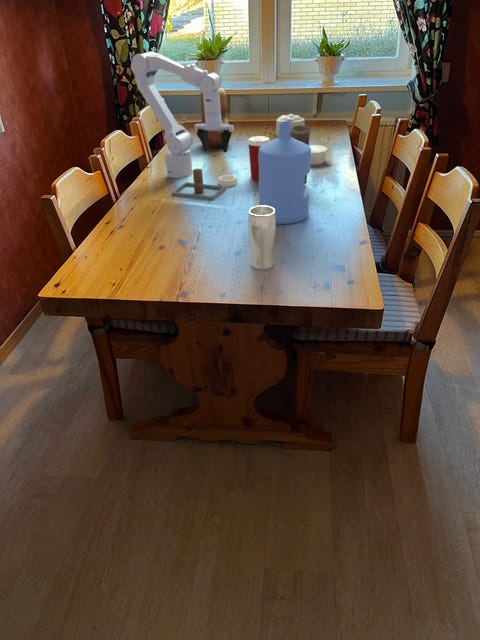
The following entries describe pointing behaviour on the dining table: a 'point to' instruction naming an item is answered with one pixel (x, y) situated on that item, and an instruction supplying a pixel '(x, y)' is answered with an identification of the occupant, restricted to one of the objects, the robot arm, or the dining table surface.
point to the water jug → (284, 176)
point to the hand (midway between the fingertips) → (216, 151)
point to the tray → (177, 193)
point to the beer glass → (262, 236)
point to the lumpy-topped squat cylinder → (291, 118)
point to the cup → (227, 180)
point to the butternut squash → (215, 136)
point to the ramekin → (318, 154)
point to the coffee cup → (255, 154)
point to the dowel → (198, 181)
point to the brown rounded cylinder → (301, 136)
